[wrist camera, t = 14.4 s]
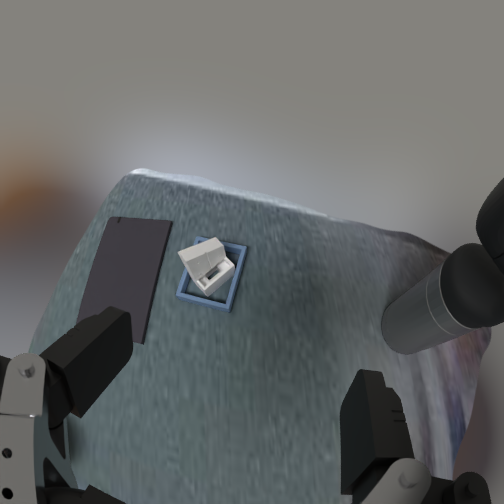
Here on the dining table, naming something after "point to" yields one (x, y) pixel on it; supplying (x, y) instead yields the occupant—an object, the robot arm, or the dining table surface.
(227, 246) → the blue rectangular frame
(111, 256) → the notebook
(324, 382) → the dining table surface
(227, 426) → the dining table surface
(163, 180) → the dining table surface
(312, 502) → the dining table surface
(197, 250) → the white angled block
